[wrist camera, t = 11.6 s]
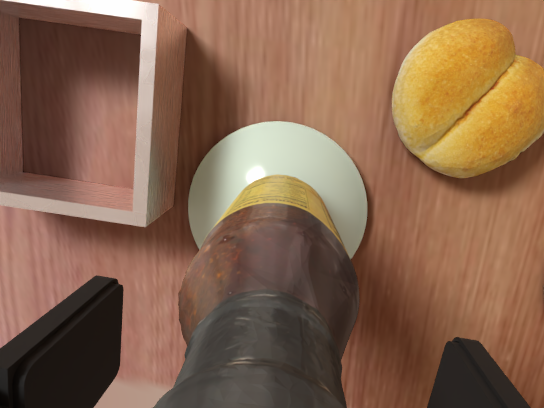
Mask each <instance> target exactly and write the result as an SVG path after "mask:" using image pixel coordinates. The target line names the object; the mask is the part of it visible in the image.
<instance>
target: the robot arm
mask: <svg viewBox="0 0 544 408" xmlns="http://www.w3.org/2000/svg"><path fill="white" fill-rule="evenodd" d="M122 309H123V286H122V285H120V284H118V280H117V279H114V278H109V277H103V276H95V277H93V278H92V279H91V280H89V281H88V282H87V283H85V284H84V285H83V286H81V287H80V288H79V289H78V290H76V291H75V292H74V293H72V294H71V295H70V296H68V297H67V298H66V299H64V300H63V301H62V302H61V303H59V304H58V305H57V306H55V307H54V308H53V309H51V310H50V311H49V312H47V313H46V314H45V315H44V316H42V317H41V318H40V319H38V320H37V321H36V322H34V323H33V324H32V325H30V326H29V327H28V328H27V329H25V330H24V331H23V332H21V333H20V334H19V335H17V336H16V337H15V338H13V339H12V340H11V341H10V342H8V343H7V344H6V345H4V346H3V347H2V348H0V408H93V407H94V406H95V405H96V403H97V402H98V400H99V399H100V398H101V396H102V395H103V394H104V392H105V391H106V390H107V388H108V387H109V385H110V384H111V383H112V381H113V380H114V379H115V377H116V375H117V373H118V370H119V367H120V353H121V331H122ZM427 408H530V406H529V405H528V404H527V402H526V401H525V400H524V399H523V397H522V396H521V395H520V393H519V392H518V391H517V389H516V388H515V387H514V386H513V384H512V383H511V382H510V380H509V379H508V378H507V377H506V375H505V374H504V373H503V371H502V370H501V369H500V367H499V366H498V365H497V364H496V362H495V361H494V360H493V358H492V357H491V356H490V355H489V353H488V352H487V351H486V349H485V348H484V347H483V345H482V344H481V343H480V342H479V341H476V340H470V339H464V338H459V337H456V338H454V339H453V340H452V342H451V341H448V342H447V343H446V345H445V348H444V352H443V355H442V358H441V362H440V365H439V369H438V372H437V376H436V379H435V382H434V386H433V389H432V393H431V396H430V400H429V403H428V406H427Z"/></svg>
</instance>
